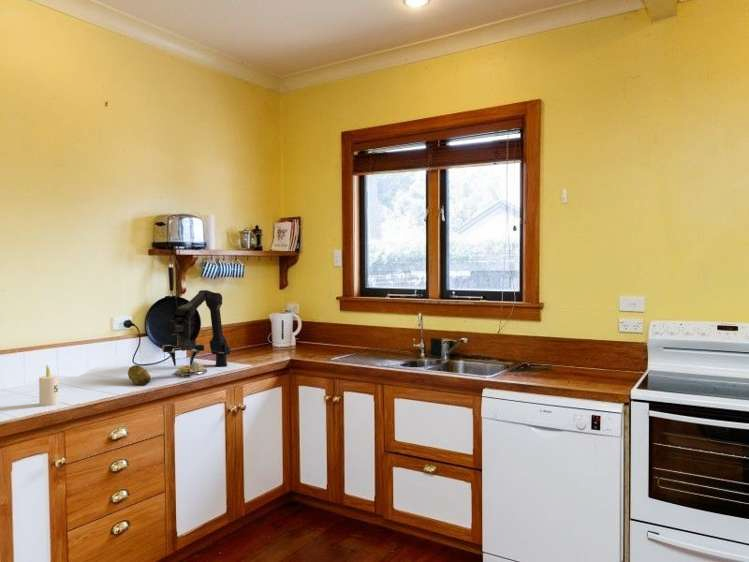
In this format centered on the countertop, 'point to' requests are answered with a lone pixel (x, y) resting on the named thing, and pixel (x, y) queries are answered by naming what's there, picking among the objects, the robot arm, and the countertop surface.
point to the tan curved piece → (191, 367)
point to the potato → (139, 375)
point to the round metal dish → (190, 372)
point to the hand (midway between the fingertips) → (182, 365)
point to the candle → (48, 389)
